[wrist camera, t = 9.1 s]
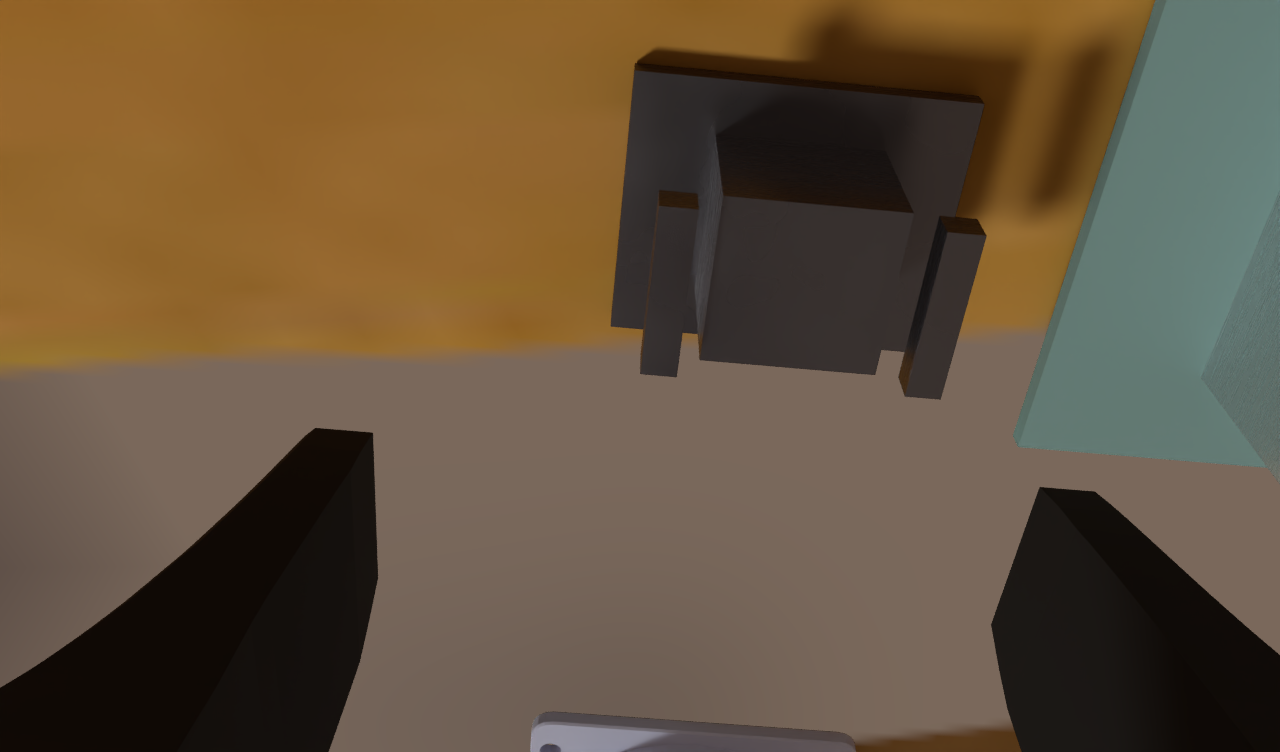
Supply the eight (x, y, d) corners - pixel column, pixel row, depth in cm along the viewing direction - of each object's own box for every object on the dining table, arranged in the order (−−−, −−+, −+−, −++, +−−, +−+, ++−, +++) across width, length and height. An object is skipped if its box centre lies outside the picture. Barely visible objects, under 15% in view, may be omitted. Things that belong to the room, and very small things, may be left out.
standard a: (914, 342, 23) (956, 450, 20) (611, 316, 23) (604, 421, 20) (979, 96, 20) (1037, 177, 17) (635, 63, 20) (631, 139, 17)
